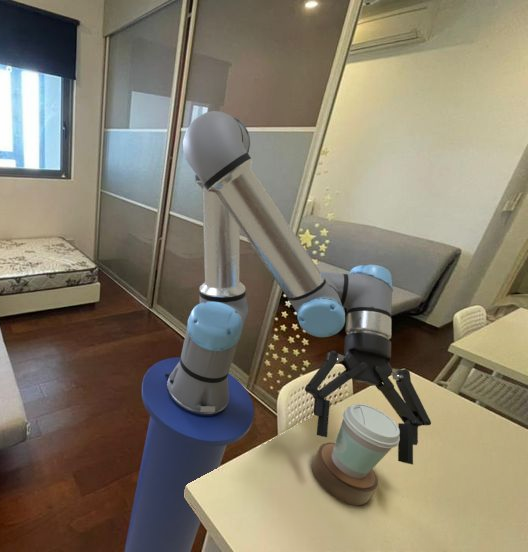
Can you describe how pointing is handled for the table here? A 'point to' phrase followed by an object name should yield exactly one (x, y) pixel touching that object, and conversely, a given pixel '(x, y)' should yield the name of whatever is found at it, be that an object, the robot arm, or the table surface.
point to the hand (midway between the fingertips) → (362, 449)
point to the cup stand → (341, 478)
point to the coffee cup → (363, 439)
